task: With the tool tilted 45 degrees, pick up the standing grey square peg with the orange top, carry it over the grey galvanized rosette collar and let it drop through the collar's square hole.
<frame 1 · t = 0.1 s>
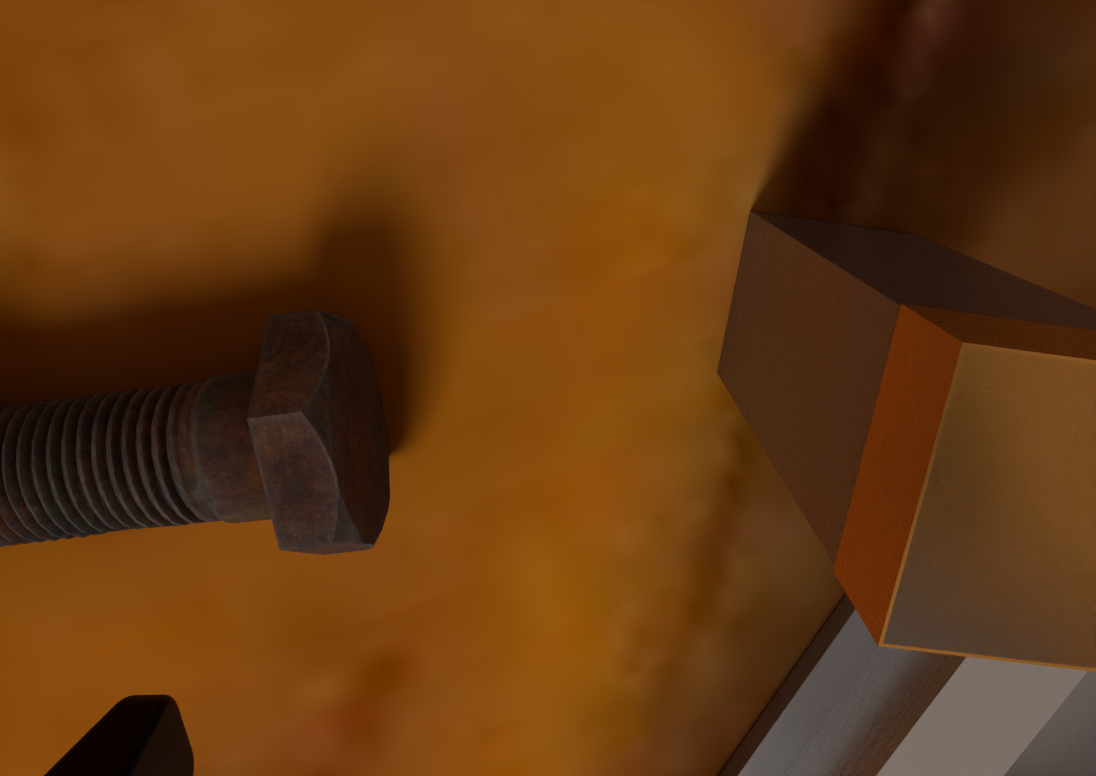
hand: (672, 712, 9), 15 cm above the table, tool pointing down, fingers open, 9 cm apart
rosette: (1053, 702, 27), on the table
bolt: (89, 428, 25), on the table
grey square peg: (814, 305, 24), on the table
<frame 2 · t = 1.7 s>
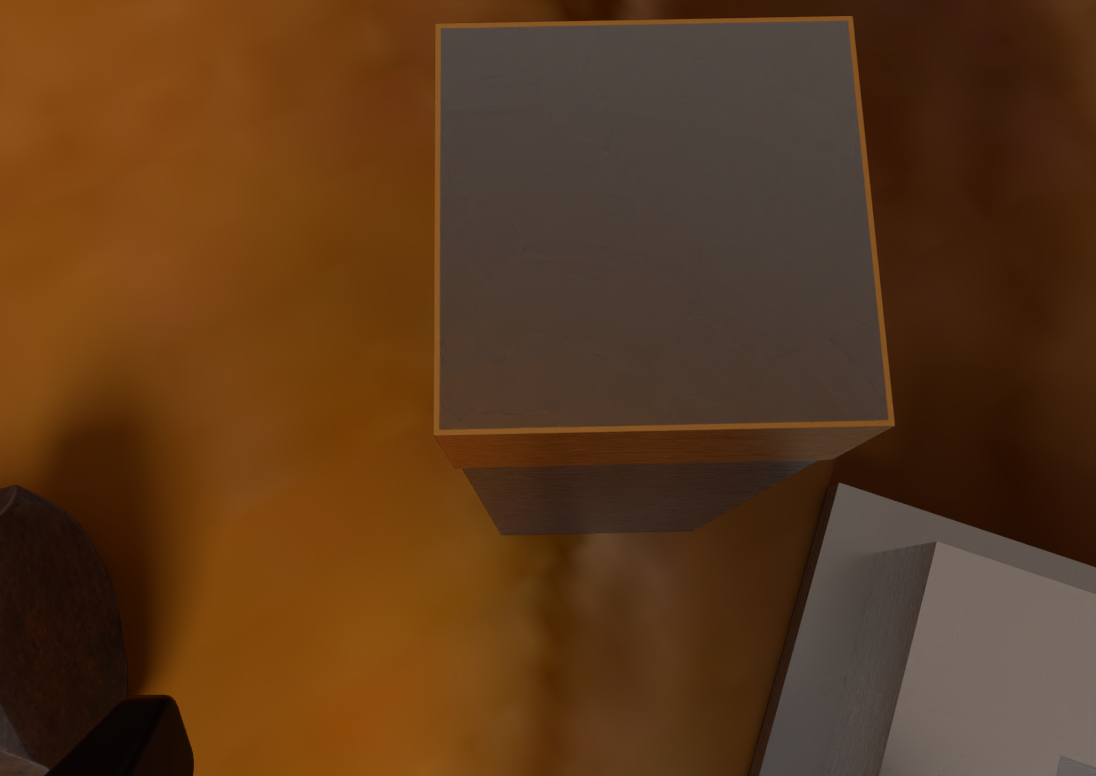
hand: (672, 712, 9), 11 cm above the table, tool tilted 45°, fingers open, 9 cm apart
grey square peg: (593, 438, 21), on the table
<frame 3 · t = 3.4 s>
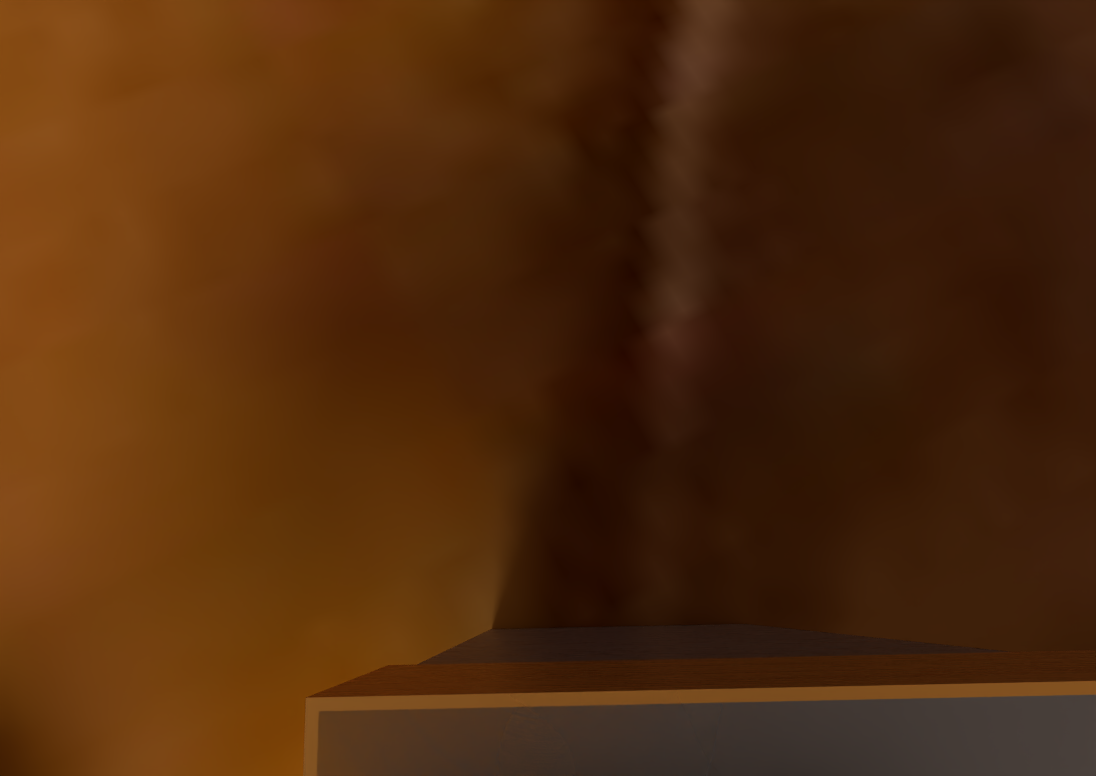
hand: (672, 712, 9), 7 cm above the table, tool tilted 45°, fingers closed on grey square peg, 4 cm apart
grey square peg: (622, 760, 15), on the table, touching gripper
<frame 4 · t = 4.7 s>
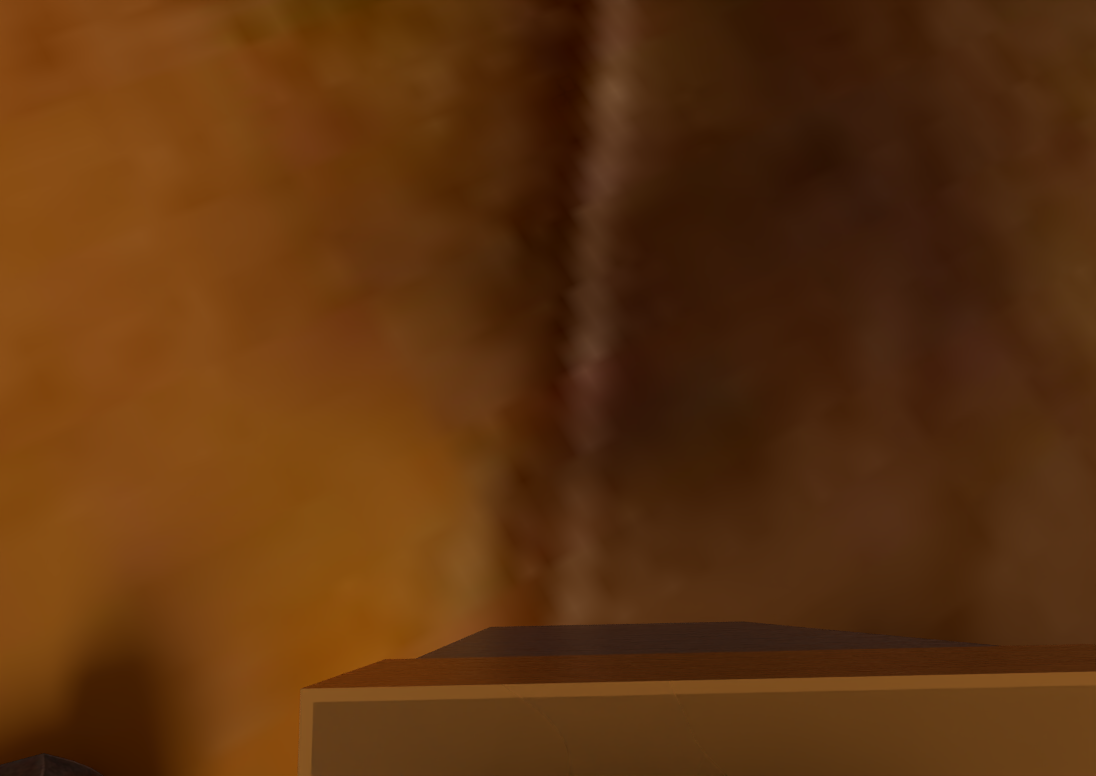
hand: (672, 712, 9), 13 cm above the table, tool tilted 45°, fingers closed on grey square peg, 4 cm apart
grey square peg: (621, 757, 15), point 7 cm above the table, touching gripper
when the fingers open (11 cm above the table, at t = 6.1 s): grey square peg drops 4 cm, resting on rosette.
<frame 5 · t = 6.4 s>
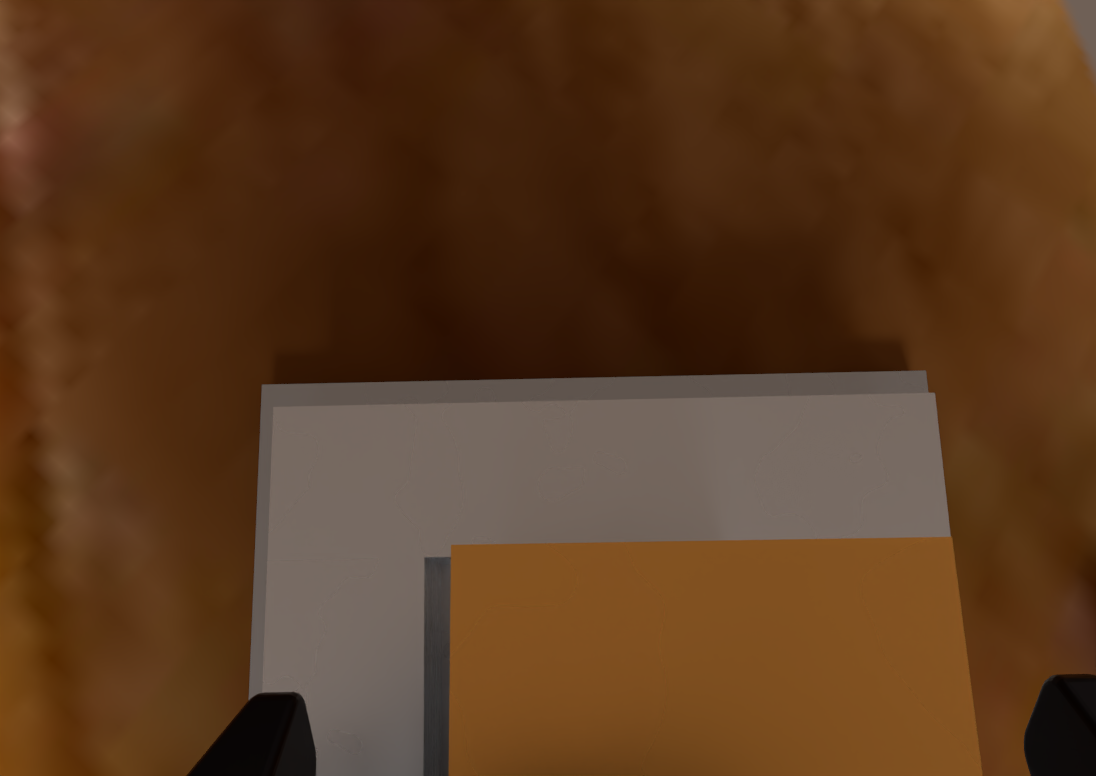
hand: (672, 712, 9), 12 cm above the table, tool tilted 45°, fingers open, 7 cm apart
rosette: (603, 721, 20), on the table
grey square peg: (610, 721, 19), point 1 cm above the table, touching rosette
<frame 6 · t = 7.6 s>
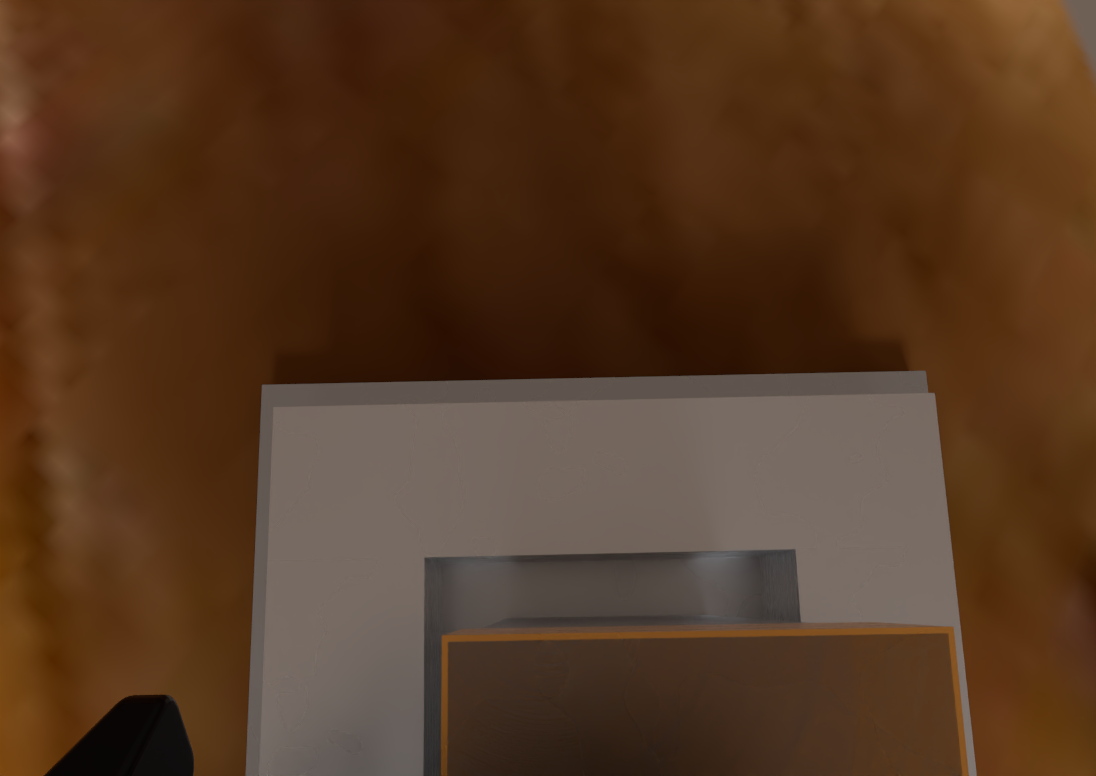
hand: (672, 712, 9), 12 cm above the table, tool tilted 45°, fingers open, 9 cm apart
rosette: (603, 721, 20), on the table
grey square peg: (609, 721, 19), point 1 cm above the table, touching rosette
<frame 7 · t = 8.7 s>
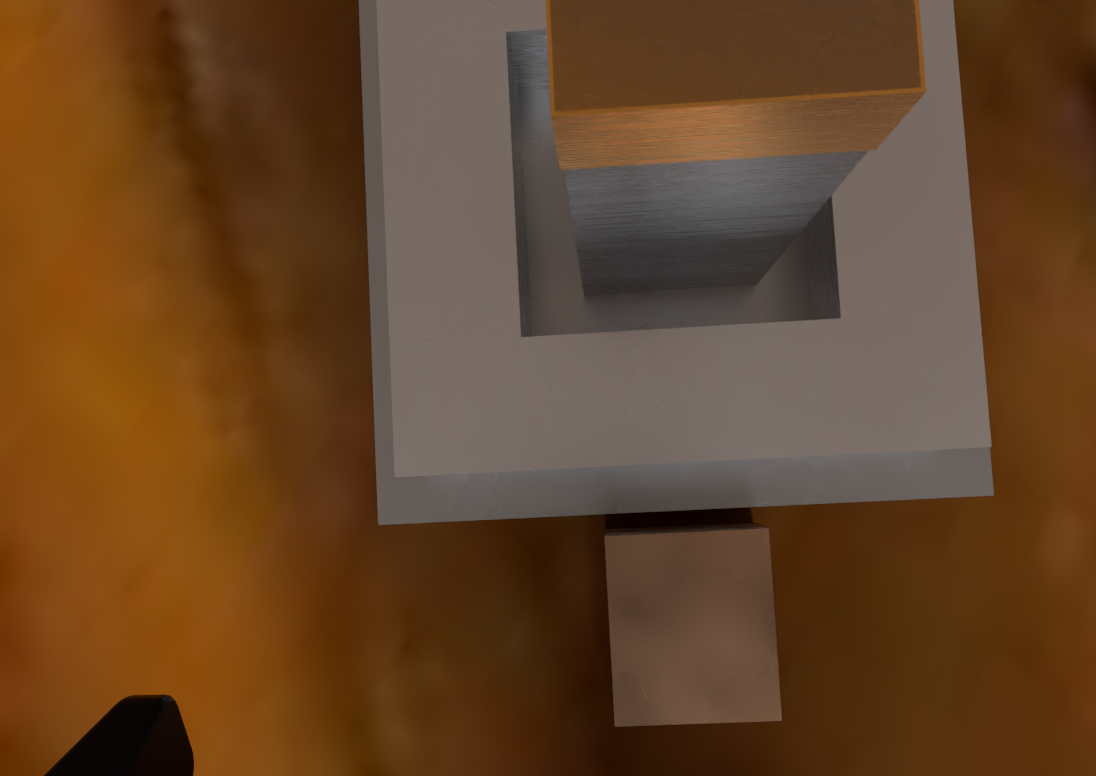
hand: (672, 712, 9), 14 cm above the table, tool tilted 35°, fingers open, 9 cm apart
rosette: (660, 218, 24), on the table
grey square peg: (664, 205, 23), point 1 cm above the table, touching rosette
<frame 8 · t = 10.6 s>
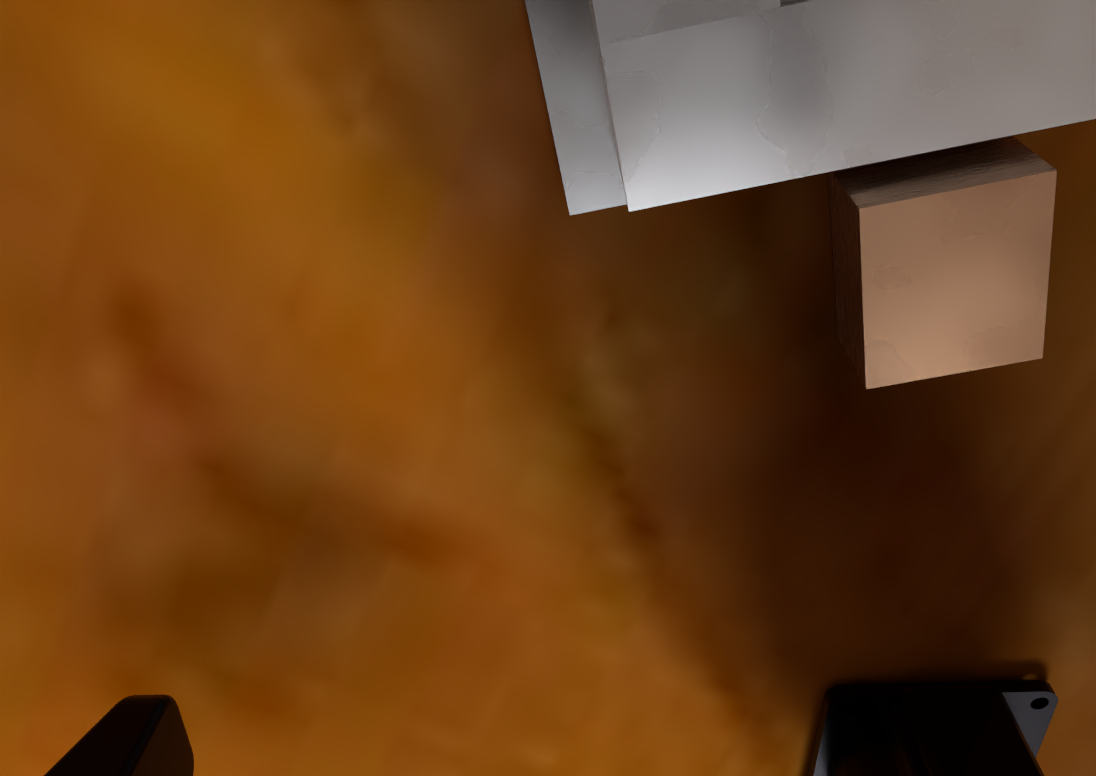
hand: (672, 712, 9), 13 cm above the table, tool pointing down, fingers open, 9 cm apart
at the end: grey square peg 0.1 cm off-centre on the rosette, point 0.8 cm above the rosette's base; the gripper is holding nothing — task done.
